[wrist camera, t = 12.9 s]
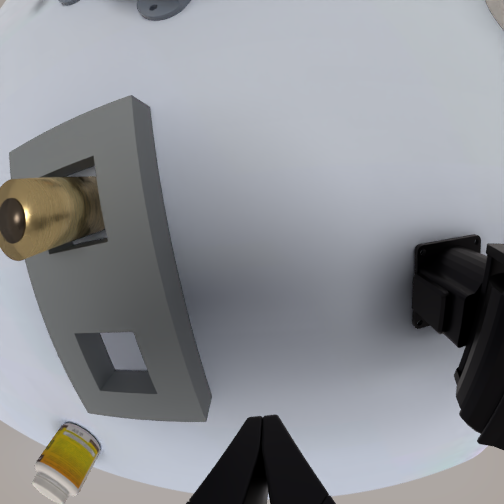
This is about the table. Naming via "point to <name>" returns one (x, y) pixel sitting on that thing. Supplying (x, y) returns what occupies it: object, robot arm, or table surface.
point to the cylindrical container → (497, 10)
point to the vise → (152, 7)
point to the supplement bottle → (65, 463)
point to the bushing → (47, 213)
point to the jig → (116, 271)
